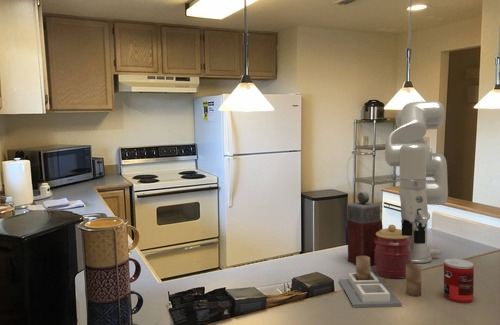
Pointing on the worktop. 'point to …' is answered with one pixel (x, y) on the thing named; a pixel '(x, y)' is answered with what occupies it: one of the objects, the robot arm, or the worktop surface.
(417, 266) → the loose peg
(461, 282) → the canned food
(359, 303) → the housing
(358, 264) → the fitted peg
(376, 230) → the red square jar
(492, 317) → the worktop surface
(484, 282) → the worktop surface
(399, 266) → the canister
